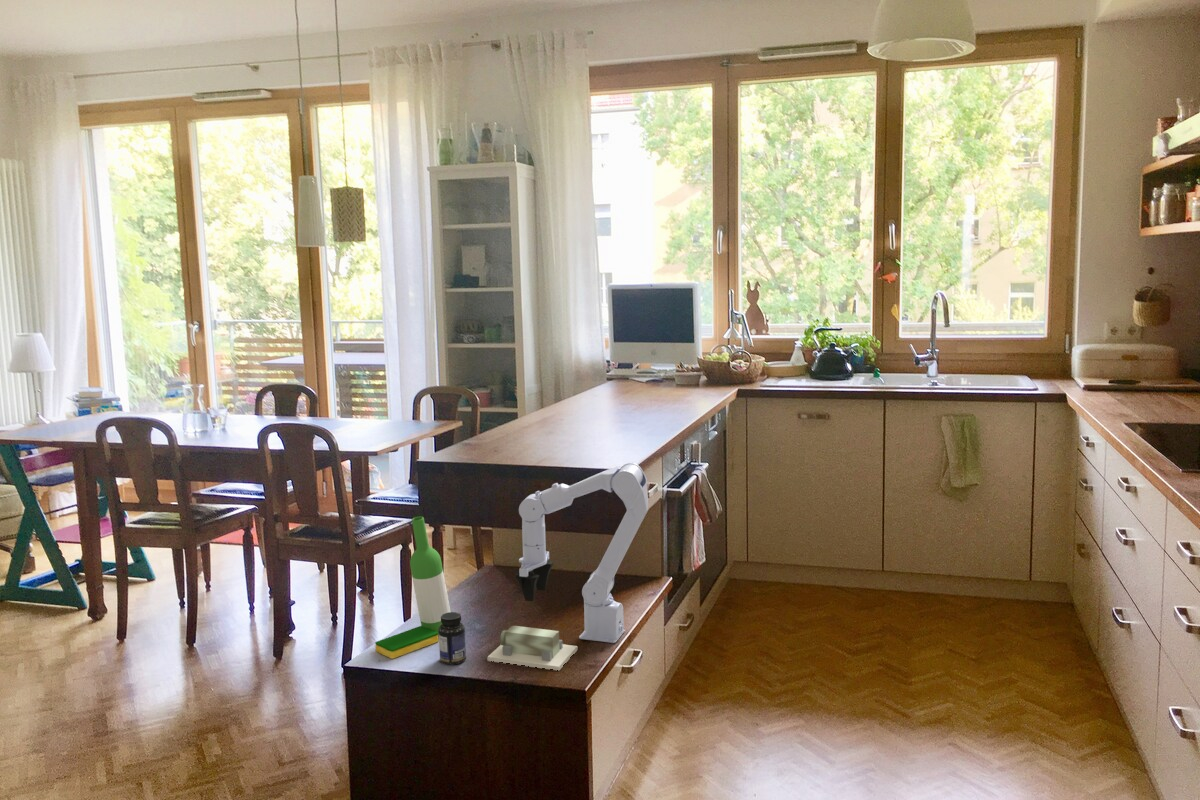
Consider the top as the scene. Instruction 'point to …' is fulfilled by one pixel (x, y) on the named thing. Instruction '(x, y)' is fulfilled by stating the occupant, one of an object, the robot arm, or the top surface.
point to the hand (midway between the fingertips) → (535, 595)
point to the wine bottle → (428, 579)
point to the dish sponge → (406, 642)
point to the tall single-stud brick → (530, 640)
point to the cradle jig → (534, 657)
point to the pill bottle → (452, 639)
